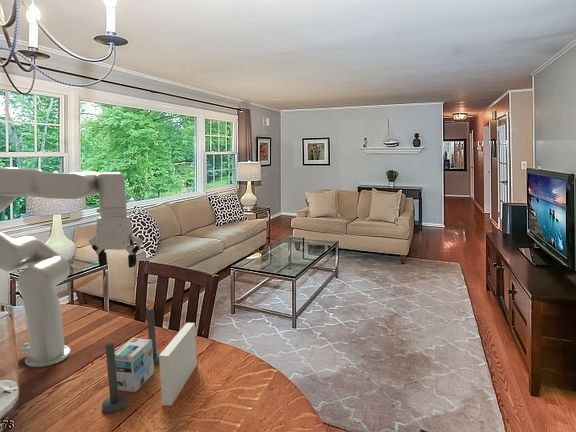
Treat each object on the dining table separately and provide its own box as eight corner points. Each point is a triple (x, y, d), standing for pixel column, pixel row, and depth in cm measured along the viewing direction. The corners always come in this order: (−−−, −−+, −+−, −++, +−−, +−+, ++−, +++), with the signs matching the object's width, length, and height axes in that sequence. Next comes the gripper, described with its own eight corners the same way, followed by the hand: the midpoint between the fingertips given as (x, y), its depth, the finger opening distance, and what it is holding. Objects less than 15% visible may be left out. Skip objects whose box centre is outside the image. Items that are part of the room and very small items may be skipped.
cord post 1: (97, 412, 101) (91, 349, 99) (110, 398, 107) (105, 338, 104) (119, 414, 101) (114, 351, 98) (131, 399, 107) (126, 339, 104)
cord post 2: (140, 365, 124) (136, 312, 121) (148, 355, 130) (145, 305, 127) (158, 366, 123) (155, 313, 120) (166, 356, 129) (163, 306, 126)
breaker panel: (157, 404, 104) (154, 355, 102) (185, 364, 124) (183, 322, 122) (171, 405, 104) (168, 356, 102) (196, 365, 123) (194, 322, 121)
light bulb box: (135, 393, 110) (133, 356, 108) (113, 390, 111) (110, 354, 109) (155, 372, 120) (152, 338, 118) (134, 370, 121) (132, 337, 119)
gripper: (79, 213, 120) (84, 268, 123) (134, 214, 118) (138, 270, 121) (94, 210, 127) (98, 262, 130) (146, 210, 125) (149, 263, 128)
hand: (117, 265), depth 125 cm, fingers open, 9 cm apart
